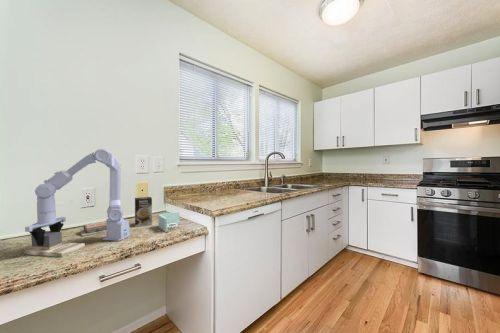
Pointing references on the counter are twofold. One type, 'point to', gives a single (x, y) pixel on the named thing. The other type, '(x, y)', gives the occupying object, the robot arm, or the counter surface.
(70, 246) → the pine board
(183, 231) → the counter surface
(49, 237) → the block
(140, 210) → the coffee box
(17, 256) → the counter surface
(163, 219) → the pale turquoise carton
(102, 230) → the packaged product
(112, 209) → the robot arm
